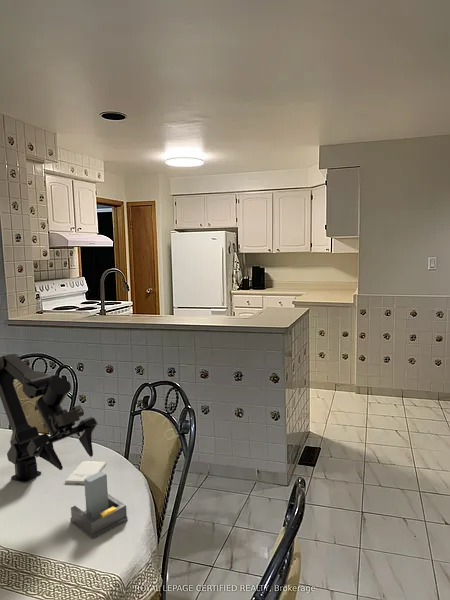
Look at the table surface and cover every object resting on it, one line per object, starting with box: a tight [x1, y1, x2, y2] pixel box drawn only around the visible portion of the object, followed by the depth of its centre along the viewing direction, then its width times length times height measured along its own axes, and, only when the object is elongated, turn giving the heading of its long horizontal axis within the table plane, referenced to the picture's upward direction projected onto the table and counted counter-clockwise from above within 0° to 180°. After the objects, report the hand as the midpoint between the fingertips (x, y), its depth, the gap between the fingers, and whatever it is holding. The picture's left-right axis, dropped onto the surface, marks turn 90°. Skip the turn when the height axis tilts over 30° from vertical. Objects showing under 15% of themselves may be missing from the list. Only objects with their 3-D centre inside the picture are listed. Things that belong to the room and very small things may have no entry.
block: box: [84, 471, 109, 519], centre depth 115 cm, size 2×5×11 cm, turn 141°
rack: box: [70, 493, 129, 540], centre depth 115 cm, size 11×10×5 cm
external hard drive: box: [64, 460, 107, 485], centre depth 141 cm, size 2×8×12 cm
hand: (77, 462), depth 119 cm, fingers open, 9 cm apart
